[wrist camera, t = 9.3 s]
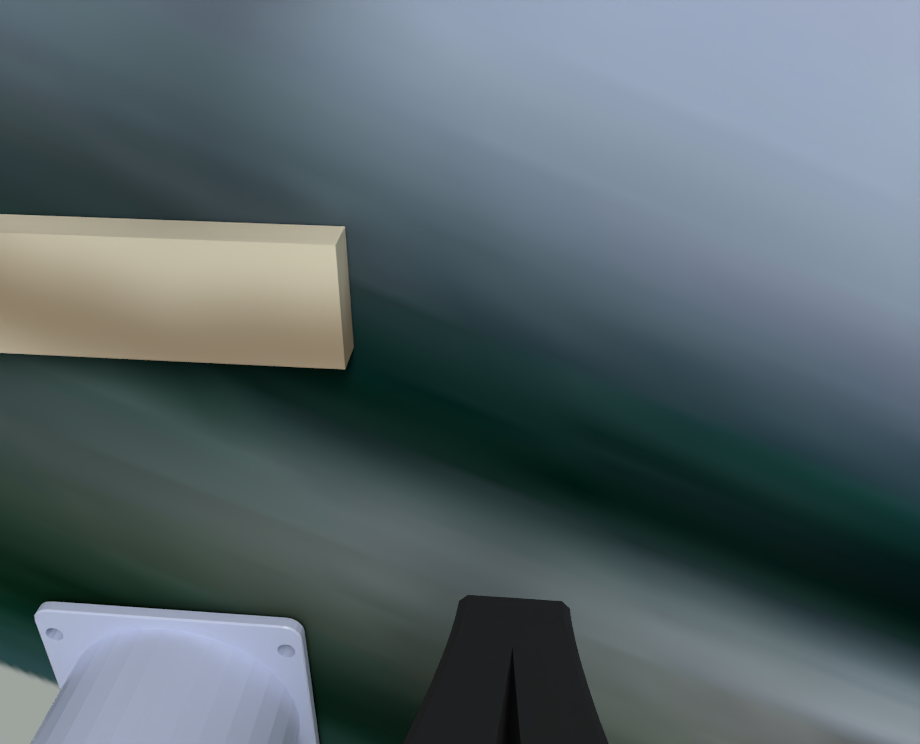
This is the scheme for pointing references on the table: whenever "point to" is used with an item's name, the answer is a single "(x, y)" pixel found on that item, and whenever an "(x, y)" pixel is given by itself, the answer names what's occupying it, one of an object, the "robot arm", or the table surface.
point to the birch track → (175, 291)
